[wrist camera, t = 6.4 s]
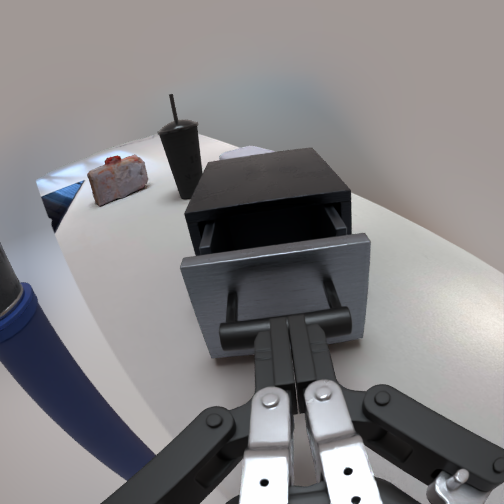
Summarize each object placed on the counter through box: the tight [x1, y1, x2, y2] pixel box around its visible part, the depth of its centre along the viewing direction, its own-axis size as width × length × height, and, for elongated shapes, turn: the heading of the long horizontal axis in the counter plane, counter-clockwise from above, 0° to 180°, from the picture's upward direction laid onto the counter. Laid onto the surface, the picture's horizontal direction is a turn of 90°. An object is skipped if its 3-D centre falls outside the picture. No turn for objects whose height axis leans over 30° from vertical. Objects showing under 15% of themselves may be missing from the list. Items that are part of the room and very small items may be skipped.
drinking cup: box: [158, 94, 203, 199], centre depth 55 cm, size 8×8×20 cm
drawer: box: [180, 203, 371, 358], centre depth 25 cm, size 19×12×8 cm, turn 1°
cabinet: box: [184, 148, 352, 256], centre depth 33 cm, size 16×13×10 cm
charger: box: [219, 146, 274, 160], centre depth 63 cm, size 5×9×15 cm
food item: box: [87, 155, 148, 206], centre depth 68 cm, size 14×8×10 cm, turn 128°
